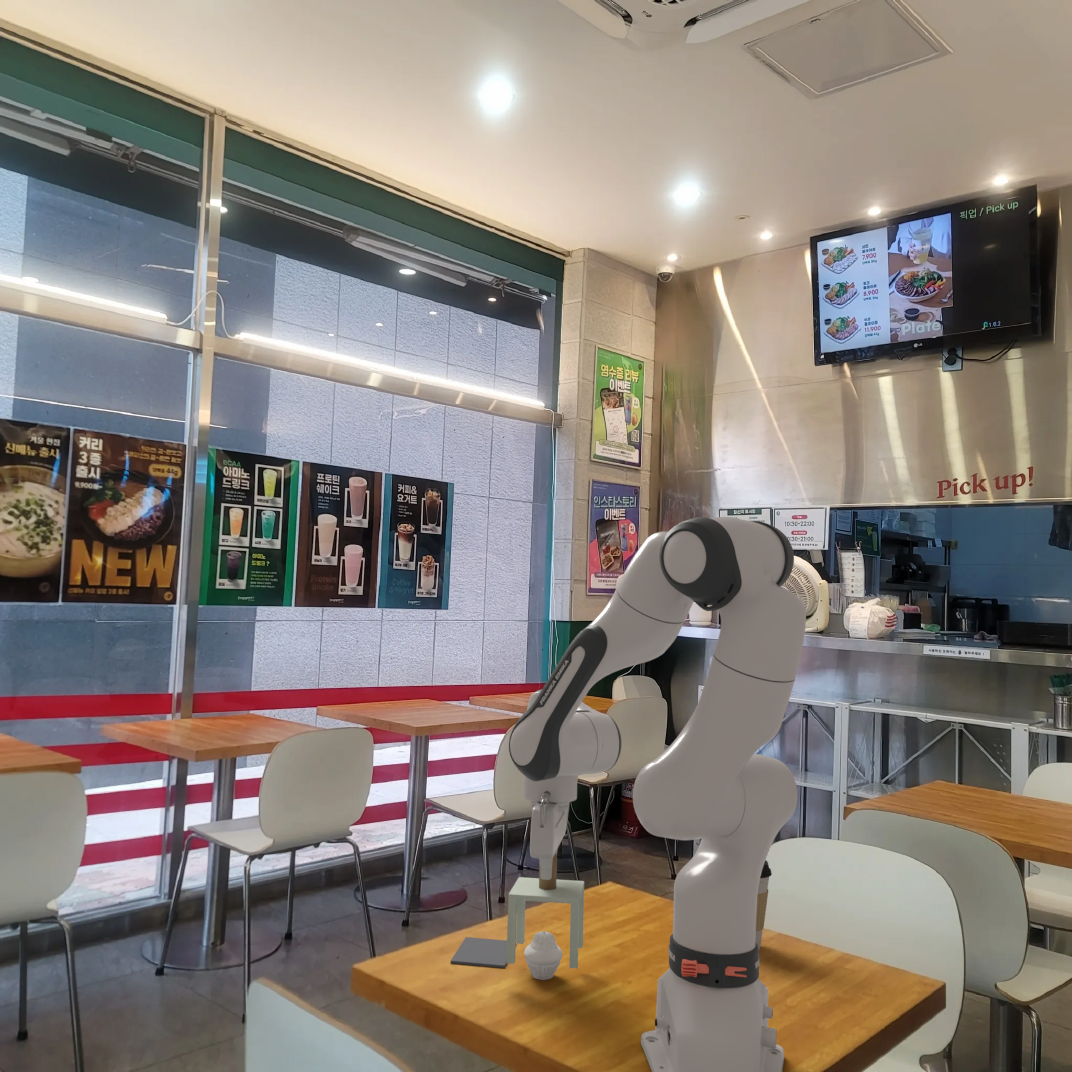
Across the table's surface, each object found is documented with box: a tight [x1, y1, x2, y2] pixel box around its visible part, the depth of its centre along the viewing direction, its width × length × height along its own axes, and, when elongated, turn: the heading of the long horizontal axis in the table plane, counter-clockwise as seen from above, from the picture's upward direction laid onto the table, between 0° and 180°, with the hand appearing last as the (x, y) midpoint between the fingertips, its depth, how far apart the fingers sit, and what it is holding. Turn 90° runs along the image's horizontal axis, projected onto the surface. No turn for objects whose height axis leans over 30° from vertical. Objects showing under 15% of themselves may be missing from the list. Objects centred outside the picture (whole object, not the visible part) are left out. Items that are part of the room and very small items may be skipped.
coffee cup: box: [756, 859, 773, 951], centre depth 166 cm, size 10×10×15 cm
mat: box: [450, 936, 508, 969], centre depth 157 cm, size 12×9×1 cm
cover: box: [506, 854, 585, 969], centre depth 148 cm, size 11×11×15 cm
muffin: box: [523, 931, 563, 981], centre depth 148 cm, size 6×6×7 cm
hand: (547, 875), depth 148 cm, fingers closed on cover, 3 cm apart
